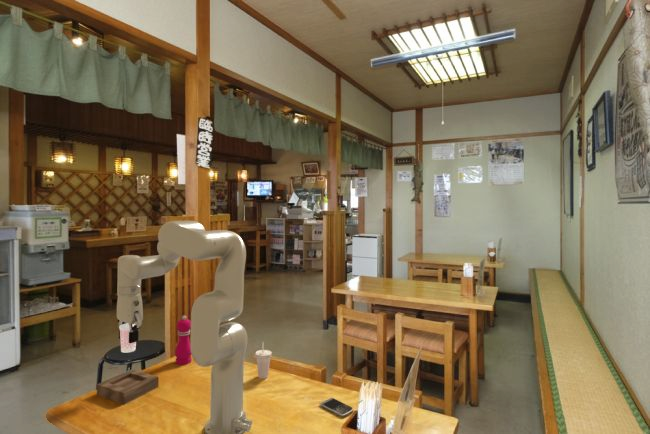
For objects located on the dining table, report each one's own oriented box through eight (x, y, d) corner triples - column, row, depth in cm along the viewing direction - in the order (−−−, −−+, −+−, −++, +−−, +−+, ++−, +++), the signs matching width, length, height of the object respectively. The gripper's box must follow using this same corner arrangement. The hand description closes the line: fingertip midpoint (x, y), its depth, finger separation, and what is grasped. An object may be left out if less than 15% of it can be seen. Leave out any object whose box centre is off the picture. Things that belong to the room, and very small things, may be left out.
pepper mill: (175, 359, 165) (175, 313, 165) (192, 357, 167) (193, 312, 167) (173, 366, 158) (174, 318, 158) (192, 364, 161) (192, 317, 160)
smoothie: (251, 379, 148) (252, 343, 148) (259, 372, 154) (260, 338, 154) (266, 381, 146) (267, 345, 146) (273, 374, 152) (274, 340, 152)
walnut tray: (158, 388, 140) (158, 376, 140) (124, 405, 127) (124, 393, 127) (131, 380, 146) (131, 369, 146) (96, 396, 133) (96, 384, 133)
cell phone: (342, 420, 122) (342, 415, 122) (318, 406, 129) (318, 402, 129) (355, 412, 126) (355, 408, 126) (330, 400, 134) (330, 396, 134)
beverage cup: (141, 348, 139) (142, 310, 138) (129, 354, 133) (129, 314, 132) (127, 346, 140) (128, 308, 140) (114, 352, 134) (115, 313, 134)
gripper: (152, 292, 134) (151, 342, 134) (127, 285, 144) (126, 332, 144) (131, 295, 128) (130, 348, 128) (106, 288, 138) (105, 337, 138)
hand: (128, 339), depth 136 cm, fingers closed on beverage cup, 6 cm apart
